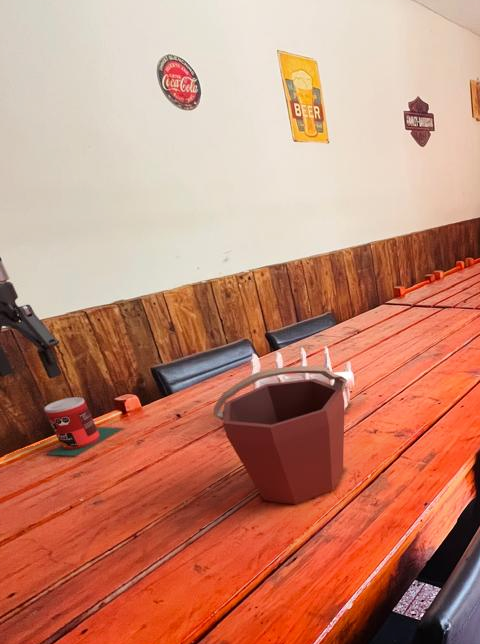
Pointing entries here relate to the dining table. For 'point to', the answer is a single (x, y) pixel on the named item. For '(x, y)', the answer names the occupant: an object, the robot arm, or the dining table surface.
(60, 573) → the dining table surface
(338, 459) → the bucket
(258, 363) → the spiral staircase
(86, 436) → the canned food
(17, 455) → the dining table surface
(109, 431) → the edge mat
